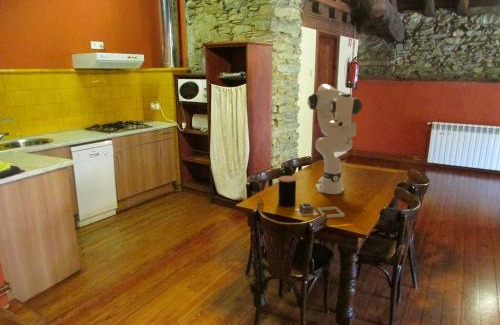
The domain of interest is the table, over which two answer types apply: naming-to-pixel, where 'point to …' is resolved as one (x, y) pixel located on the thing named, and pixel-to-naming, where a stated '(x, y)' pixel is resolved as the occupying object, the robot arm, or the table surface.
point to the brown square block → (306, 208)
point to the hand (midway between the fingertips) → (341, 145)
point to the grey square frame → (331, 214)
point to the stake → (306, 214)
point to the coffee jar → (287, 191)
